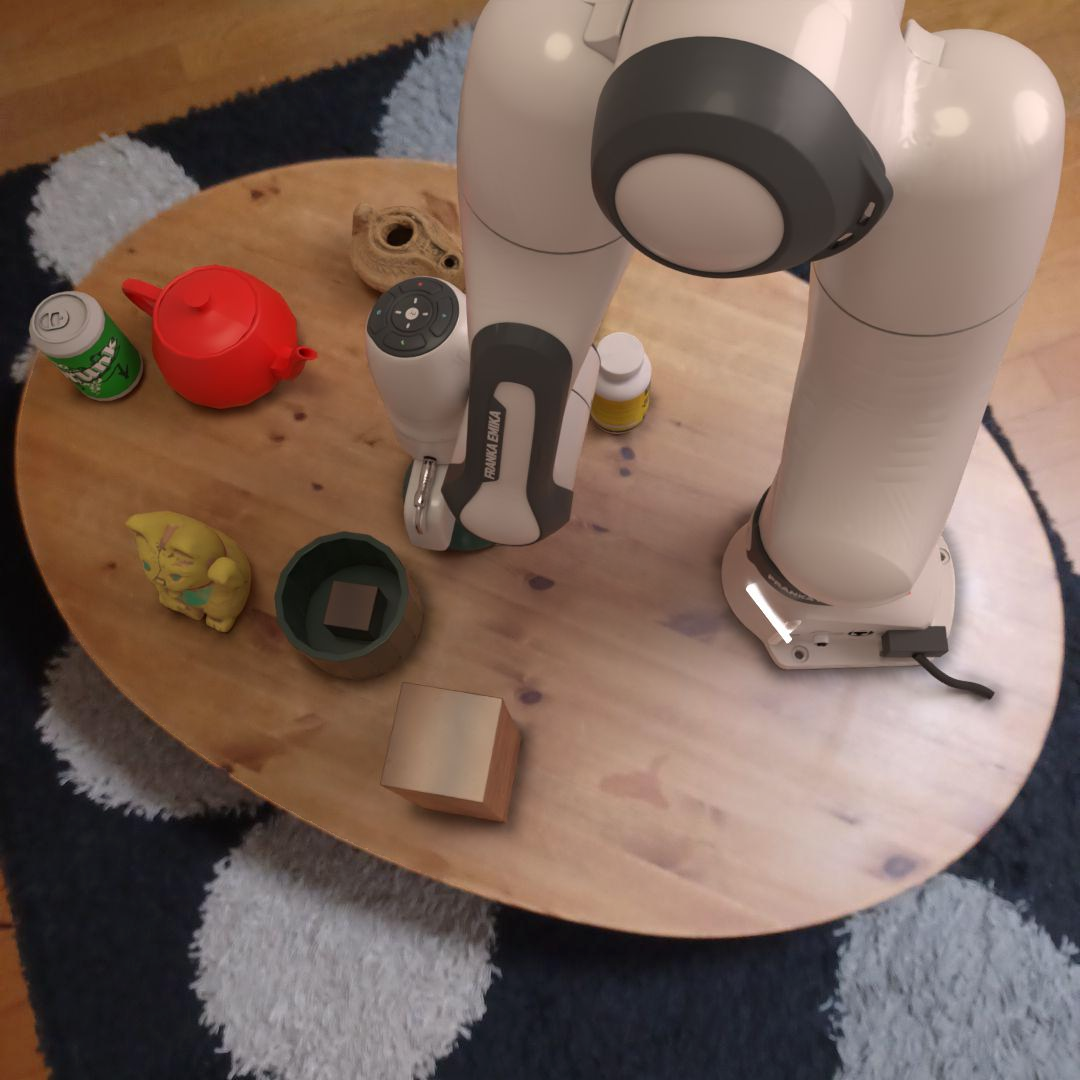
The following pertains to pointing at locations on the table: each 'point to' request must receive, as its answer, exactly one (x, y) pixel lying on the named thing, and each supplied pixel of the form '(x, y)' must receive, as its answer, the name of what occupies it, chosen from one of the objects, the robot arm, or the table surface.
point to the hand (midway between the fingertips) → (457, 473)
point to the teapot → (220, 335)
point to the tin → (308, 598)
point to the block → (355, 611)
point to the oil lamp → (402, 247)
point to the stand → (452, 752)
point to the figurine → (193, 566)
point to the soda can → (86, 345)
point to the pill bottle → (621, 384)
